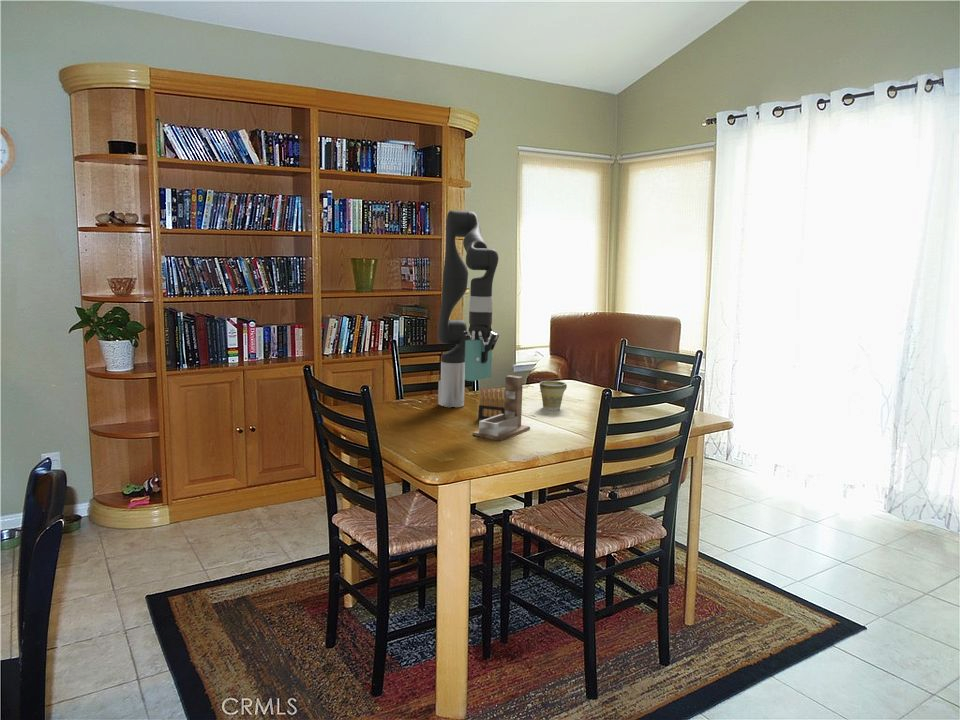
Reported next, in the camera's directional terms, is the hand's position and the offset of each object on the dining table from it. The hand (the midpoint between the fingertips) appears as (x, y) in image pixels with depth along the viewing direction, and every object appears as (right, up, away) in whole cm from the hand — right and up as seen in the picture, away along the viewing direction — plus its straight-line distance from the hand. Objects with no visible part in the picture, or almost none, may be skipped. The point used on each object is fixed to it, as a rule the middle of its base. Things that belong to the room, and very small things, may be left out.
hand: (479, 362), depth 242 cm
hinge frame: (+7, -23, +4) cm, 25 cm away
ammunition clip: (+5, -21, +22) cm, 30 cm away
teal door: (0, -5, 0) cm, 5 cm away
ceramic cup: (+29, -18, +44) cm, 56 cm away
